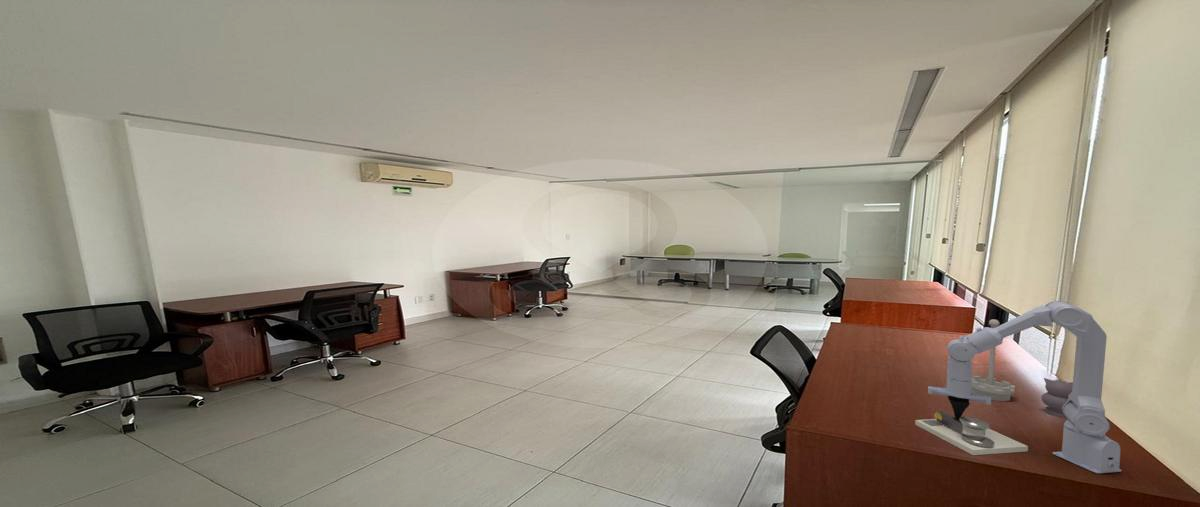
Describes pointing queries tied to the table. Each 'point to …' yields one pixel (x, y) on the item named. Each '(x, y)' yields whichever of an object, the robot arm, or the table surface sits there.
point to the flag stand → (992, 379)
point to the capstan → (967, 428)
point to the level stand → (954, 437)
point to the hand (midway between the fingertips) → (957, 420)
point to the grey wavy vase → (1056, 396)
